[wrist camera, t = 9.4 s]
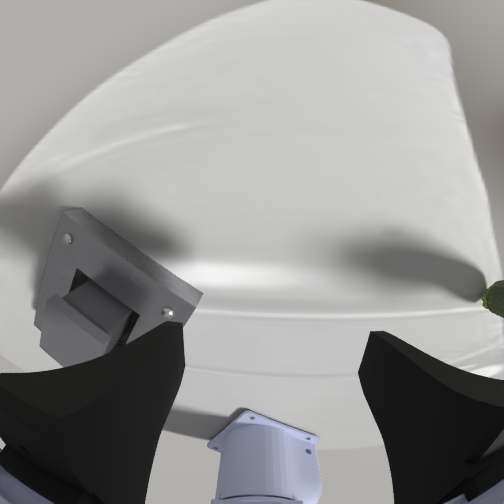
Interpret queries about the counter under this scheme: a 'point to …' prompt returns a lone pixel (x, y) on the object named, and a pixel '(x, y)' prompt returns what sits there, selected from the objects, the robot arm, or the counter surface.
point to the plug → (83, 324)
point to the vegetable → (495, 298)
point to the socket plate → (113, 274)
